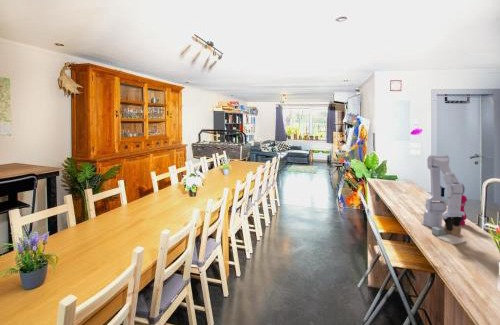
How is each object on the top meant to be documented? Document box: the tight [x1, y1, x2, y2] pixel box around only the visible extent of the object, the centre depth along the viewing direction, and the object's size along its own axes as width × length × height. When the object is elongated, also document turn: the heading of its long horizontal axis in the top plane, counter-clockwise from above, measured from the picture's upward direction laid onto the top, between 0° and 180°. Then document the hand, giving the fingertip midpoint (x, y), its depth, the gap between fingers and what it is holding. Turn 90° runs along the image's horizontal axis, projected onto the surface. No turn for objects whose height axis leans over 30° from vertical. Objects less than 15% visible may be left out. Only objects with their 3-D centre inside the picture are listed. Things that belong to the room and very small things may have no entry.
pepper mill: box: [459, 194, 468, 226], centre depth 178 cm, size 7×7×20 cm
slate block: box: [431, 226, 447, 237], centre depth 164 cm, size 6×4×4 cm, turn 106°
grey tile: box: [437, 234, 466, 245], centre depth 156 cm, size 9×9×1 cm
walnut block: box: [444, 223, 462, 236], centre depth 155 cm, size 6×4×4 cm, turn 19°
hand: (452, 229), depth 155 cm, fingers closed on walnut block, 4 cm apart
